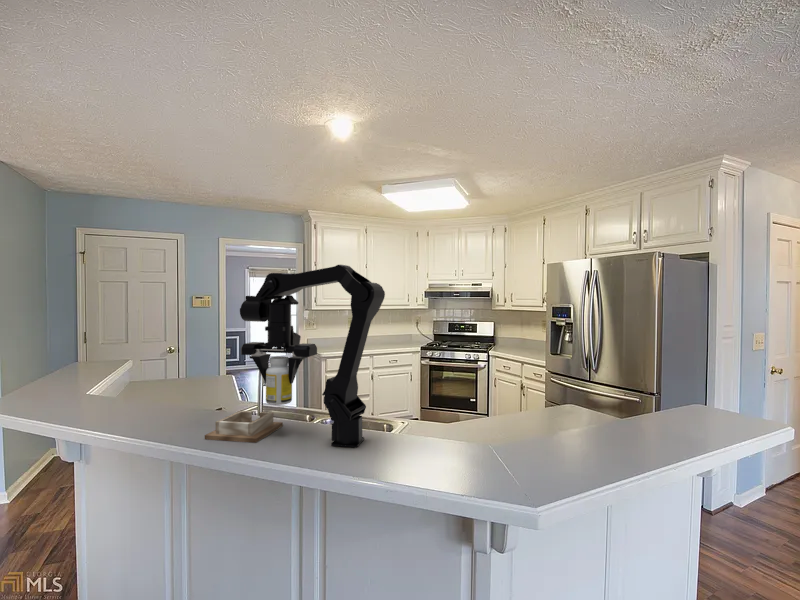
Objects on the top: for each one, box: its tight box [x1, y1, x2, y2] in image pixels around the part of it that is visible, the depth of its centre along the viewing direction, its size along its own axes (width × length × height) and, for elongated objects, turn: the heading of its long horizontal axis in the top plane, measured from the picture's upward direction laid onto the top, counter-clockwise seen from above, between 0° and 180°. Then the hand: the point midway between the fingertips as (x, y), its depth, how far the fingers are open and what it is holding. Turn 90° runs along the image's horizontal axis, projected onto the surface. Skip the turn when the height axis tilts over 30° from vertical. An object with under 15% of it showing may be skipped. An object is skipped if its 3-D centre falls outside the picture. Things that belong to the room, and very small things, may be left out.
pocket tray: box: [204, 410, 284, 444], centre depth 112 cm, size 14×14×4 cm
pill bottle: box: [265, 356, 293, 406], centre depth 110 cm, size 6×6×12 cm
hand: (279, 382), depth 110 cm, fingers closed on pill bottle, 6 cm apart
